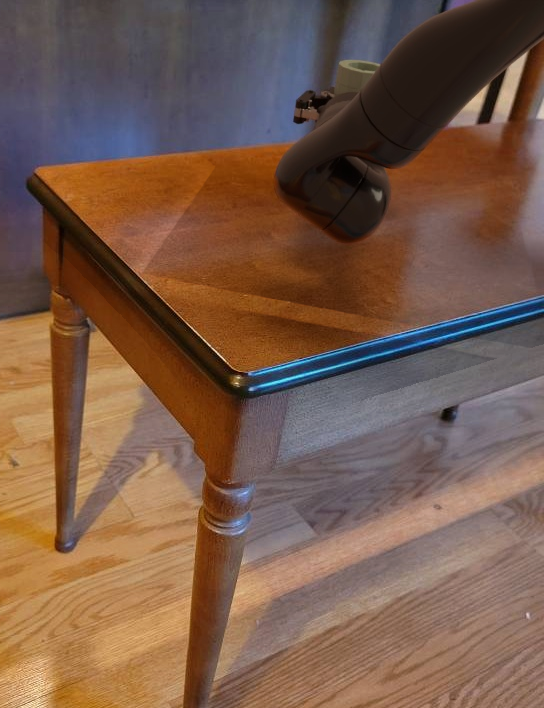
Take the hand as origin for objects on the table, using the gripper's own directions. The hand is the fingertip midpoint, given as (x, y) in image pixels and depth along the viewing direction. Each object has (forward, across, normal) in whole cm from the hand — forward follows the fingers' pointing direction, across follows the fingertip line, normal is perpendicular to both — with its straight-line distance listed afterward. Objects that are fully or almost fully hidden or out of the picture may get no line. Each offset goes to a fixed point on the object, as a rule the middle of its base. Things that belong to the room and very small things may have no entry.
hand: (358, 99), depth 93 cm
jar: (-2, 0, +7) cm, 7 cm away
